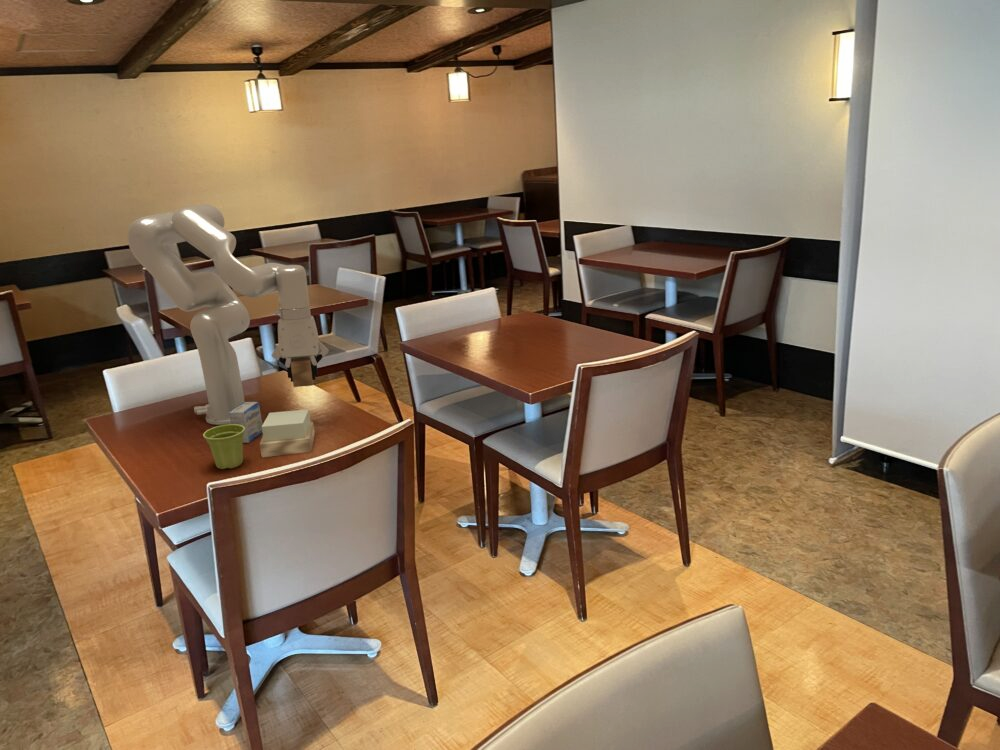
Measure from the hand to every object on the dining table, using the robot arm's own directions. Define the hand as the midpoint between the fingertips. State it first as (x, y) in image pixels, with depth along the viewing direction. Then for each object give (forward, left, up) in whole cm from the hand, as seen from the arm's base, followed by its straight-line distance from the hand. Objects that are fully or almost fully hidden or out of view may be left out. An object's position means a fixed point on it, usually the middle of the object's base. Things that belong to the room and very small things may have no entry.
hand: (303, 378), depth 201 cm
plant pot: (-17, -22, -13) cm, 31 cm away
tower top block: (-4, -14, -9) cm, 18 cm away
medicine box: (-15, -5, -13) cm, 21 cm away
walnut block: (0, 0, -1) cm, 1 cm away
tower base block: (-4, -14, -13) cm, 20 cm away
